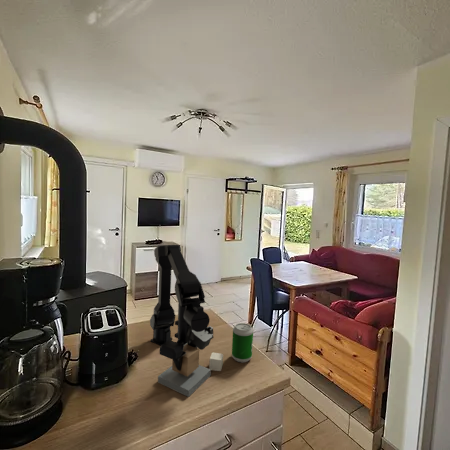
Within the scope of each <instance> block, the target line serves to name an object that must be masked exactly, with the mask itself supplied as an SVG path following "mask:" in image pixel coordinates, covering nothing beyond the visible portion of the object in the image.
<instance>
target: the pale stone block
mask: <svg viewBox="0 0 450 450" xmlns="http://www.w3.org/2000/svg"><path fill="white" fill-rule="evenodd" d="M208 364H209V368H208V369H211V371H215V372H221V371H222V368H223V365H224V354H223V353H220V352H219V353H218V352H211V355H210V357H209V363H208Z"/></svg>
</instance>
